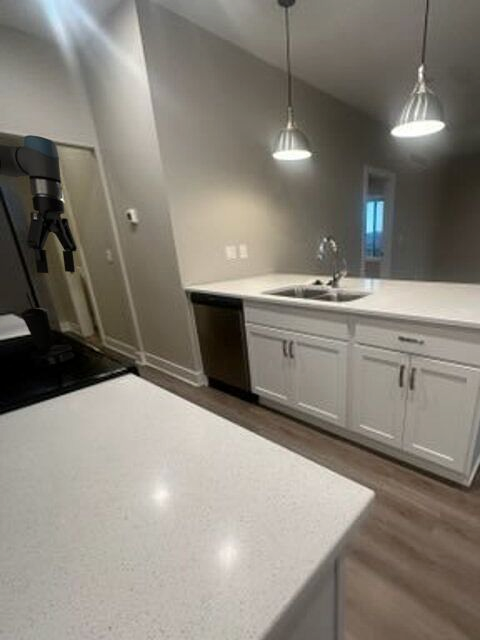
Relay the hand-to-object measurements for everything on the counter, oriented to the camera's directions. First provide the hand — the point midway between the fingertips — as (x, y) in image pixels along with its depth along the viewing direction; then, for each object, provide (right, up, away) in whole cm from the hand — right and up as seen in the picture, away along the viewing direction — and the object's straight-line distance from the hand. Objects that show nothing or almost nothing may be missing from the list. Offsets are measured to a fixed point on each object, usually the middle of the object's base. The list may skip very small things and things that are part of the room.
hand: (57, 272), depth 107 cm
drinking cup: (-16, -23, +18) cm, 33 cm away
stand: (-4, -28, +4) cm, 28 cm away
